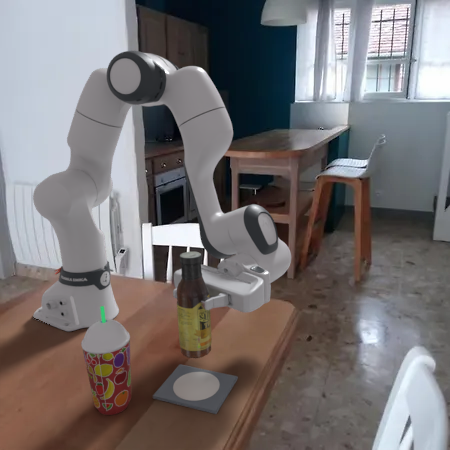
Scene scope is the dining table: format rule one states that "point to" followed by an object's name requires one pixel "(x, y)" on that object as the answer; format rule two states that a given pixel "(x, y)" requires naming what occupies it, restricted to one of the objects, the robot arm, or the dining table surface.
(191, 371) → the card
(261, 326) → the dining table surface
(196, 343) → the sauce bottle
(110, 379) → the smoothie
